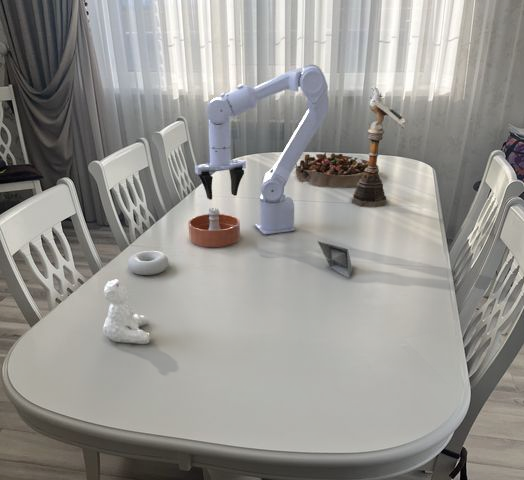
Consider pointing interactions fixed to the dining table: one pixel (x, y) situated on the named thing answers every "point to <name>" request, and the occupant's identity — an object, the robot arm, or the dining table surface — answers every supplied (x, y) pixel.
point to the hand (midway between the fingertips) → (222, 196)
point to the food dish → (331, 170)
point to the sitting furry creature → (122, 317)
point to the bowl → (214, 231)
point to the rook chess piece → (214, 219)
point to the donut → (148, 262)
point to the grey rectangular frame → (337, 258)
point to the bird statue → (374, 156)
